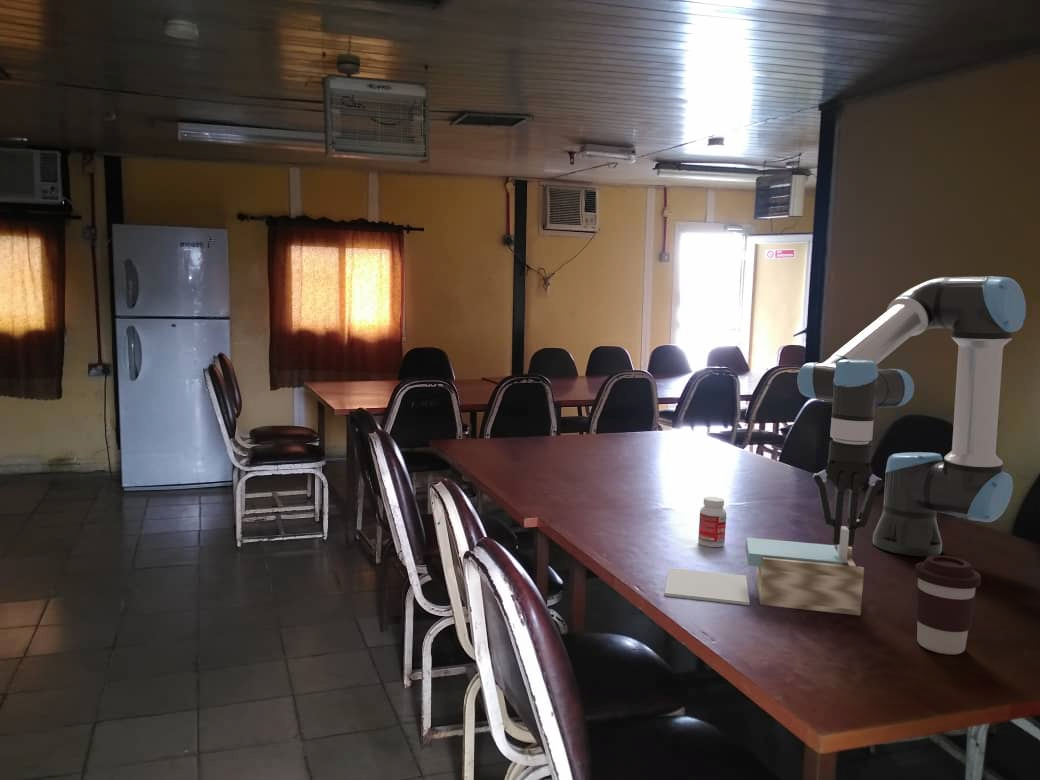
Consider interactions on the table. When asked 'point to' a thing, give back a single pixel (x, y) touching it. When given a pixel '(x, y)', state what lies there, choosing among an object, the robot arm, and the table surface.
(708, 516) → the pill bottle
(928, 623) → the coffee cup
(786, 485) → the table surface
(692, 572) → the mat
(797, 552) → the lid
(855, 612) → the box
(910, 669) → the table surface
